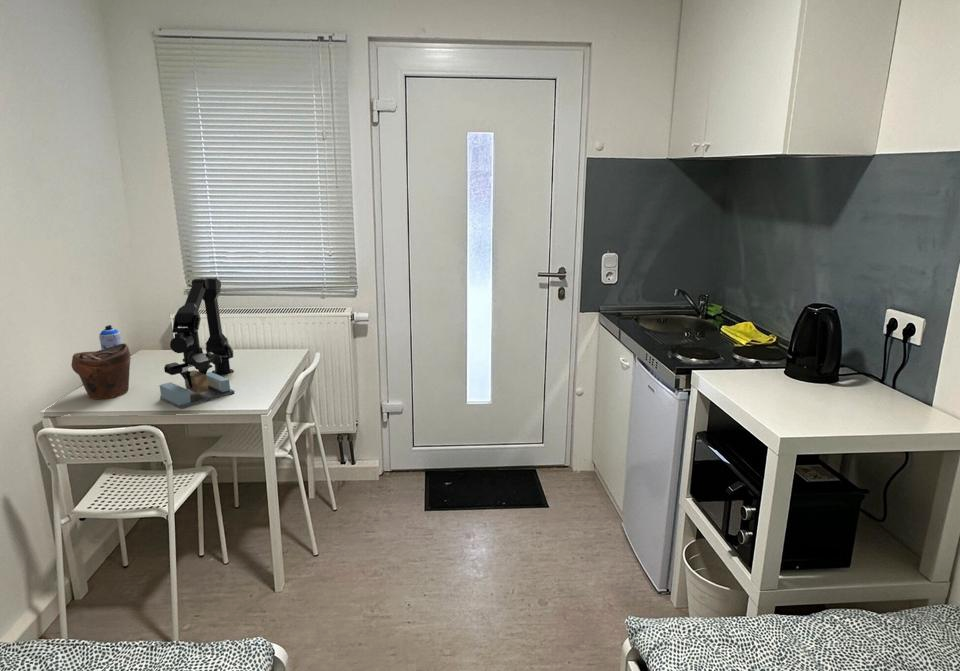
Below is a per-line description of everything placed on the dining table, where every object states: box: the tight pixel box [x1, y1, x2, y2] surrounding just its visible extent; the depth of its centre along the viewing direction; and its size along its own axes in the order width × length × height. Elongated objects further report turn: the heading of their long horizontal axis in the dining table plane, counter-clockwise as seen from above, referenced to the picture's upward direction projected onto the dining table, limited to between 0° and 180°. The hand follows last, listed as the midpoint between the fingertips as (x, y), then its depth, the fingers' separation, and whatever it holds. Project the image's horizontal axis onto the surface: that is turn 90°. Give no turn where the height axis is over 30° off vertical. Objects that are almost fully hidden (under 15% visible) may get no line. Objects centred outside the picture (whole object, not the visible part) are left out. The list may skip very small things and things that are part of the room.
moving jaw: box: [206, 371, 231, 392], centre depth 235 cm, size 14×3×4 cm, turn 50°
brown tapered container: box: [71, 342, 132, 400], centre depth 231 cm, size 18×20×18 cm
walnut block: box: [184, 369, 208, 393], centre depth 229 cm, size 4×9×6 cm, turn 50°
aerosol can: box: [99, 324, 123, 350], centre depth 255 cm, size 8×8×20 cm
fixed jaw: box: [158, 381, 190, 406], centre depth 223 cm, size 14×4×4 cm, turn 50°
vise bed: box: [159, 386, 235, 410], centre depth 230 cm, size 16×20×1 cm
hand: (196, 386), depth 229 cm, fingers closed on walnut block, 4 cm apart
